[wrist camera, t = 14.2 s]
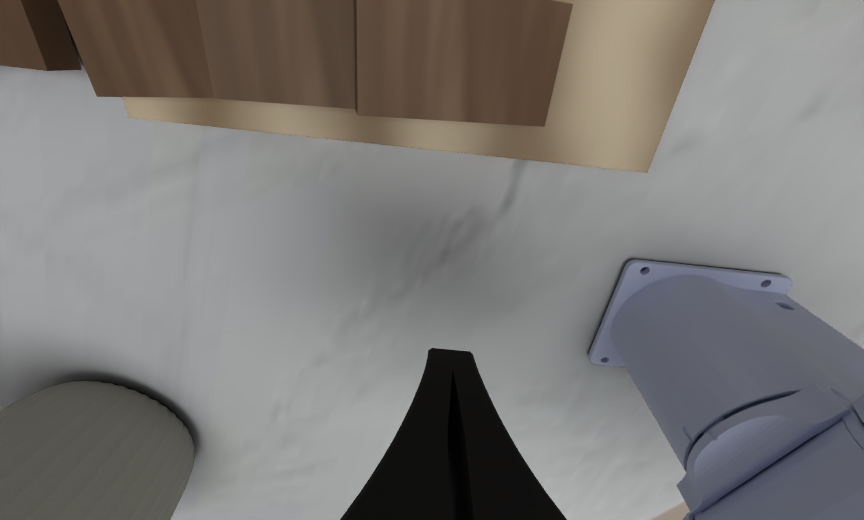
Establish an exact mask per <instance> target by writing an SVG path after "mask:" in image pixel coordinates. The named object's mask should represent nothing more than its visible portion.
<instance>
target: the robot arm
mask: <svg viewBox="0 0 864 520" xmlns="http://www.w3.org/2000/svg"><path fill="white" fill-rule="evenodd" d="M643 267H646V269H645V270H643V271H640V270H641V269H642V268H643ZM763 281H764V282H763ZM762 282H763V283H762ZM791 285H792V280H791V279H790V278H789V277H787V276H785V275H779V274H770V273H760V272H751V271H741V270H732V269H722V268H713V267H704V266H694V265H685V264H675V263H666V262H656V261H647V260H637V259H636V260H631V261H629V262H628V263H627V264H626V265H625V267H624V270H623V272H622V275H621V277H620V279H619V282H618V284H617V287H616V289H615V291H614V294H613V296H612V299H611V301H610V303H609V306H608V308H607V311H606V313H605V316H604V318H603V320H602V323H601V325H600V328H599V330H598V332H597V335H596V337H595V340H594V342H593V344H592V347H591V349H590V352H589V354H588V358H589V360H590V362H591V363H592V364H598V365H608V366H617V367H626V368H627V370H628V371H629V373H630V375H631V377H632V378H633V380H634V382H635V384H636V385H637V387H638V389H639V391H640V392H641V394H642V396H643V398H644V399H645V401H646V403H647V405H648V406H649V408H650V410H651V412H652V413H653V415H654V417H655V419H656V420H657V422H658V424H659V426H660V427H661V429H662V431H663V433H664V434H665V436H666V438H667V440H668V441H669V443H670V445H671V447H672V448H673V450H674V452H675V454H676V455H677V457H678V459H679V461H680V462H681V464H682V466H683V468H684V469H685V471H686V475H685V477H684V478H683V479H682V480H681V481H680V482H679V483H678V484H677V487H678V489H679V491H680V493H681V495H682V497H683V498H684V500H685V502H686V504H687V506H688V508H689V510H690V512H689V513H687V514H686V516H685V517H684V518H683V520H864V349H863V348H861V347H860V346H858V345H857V344H855V343H854V342H853V341H851V340H850V339H848V338H847V337H845V336H844V335H842V334H841V333H840V332H838V331H837V330H835V329H834V328H832V327H831V326H830V325H828V324H827V323H825V322H824V321H822V320H821V319H820V318H818V317H817V316H815V315H814V314H812V313H811V312H809V311H808V310H807V309H805V308H804V307H802V306H801V305H799V304H798V303H797V302H795V301H794V300H792V299H791V298H789V297H788V296H786V295H785V294H786V293H787V291H788V290H789V288H790V287H791ZM603 357H605V358H603ZM602 358H603V359H602ZM340 520H567V519H566V518H565V517H564V515H563V514H562V513H561V511H560V510H559V509H558V507H557V506H556V505H555V504H554V502H553V501H552V500H551V498H550V497H549V496H548V494H547V493H546V492H545V490H544V489H543V487H542V486H541V484H540V483H539V481H538V480H537V479H536V477H535V476H534V474H533V473H532V471H531V470H530V468H529V467H528V465H527V463H526V462H525V460H524V459H523V457H522V456H521V454H520V452H519V451H518V449H517V448H516V446H515V444H514V442H513V441H512V439H511V437H510V435H509V434H508V432H507V430H506V428H505V427H504V425H503V423H502V421H501V419H500V417H499V415H498V413H497V411H496V409H495V407H494V405H493V403H492V401H491V399H490V397H489V395H488V393H487V390H486V388H485V386H484V383H483V381H482V379H481V376H480V374H479V371H478V368H477V366H476V363H475V360H474V357H473V354H472V353H471V352H468V351H457V350H447V349H436V348H432V349H430V350H428V358H427V363H426V367H425V370H424V373H423V376H422V379H421V382H420V385H419V387H418V390H417V392H416V394H415V397H414V399H413V402H412V404H411V406H410V408H409V410H408V412H407V414H406V416H405V418H404V420H403V422H402V424H401V426H400V428H399V430H398V432H397V434H396V436H395V438H394V439H393V441H392V443H391V445H390V446H389V448H388V450H387V451H386V453H385V455H384V456H383V458H382V460H381V461H380V463H379V464H378V466H377V468H376V469H375V471H374V472H373V474H372V475H371V477H370V479H369V480H368V482H367V483H366V484H365V486H364V487H363V489H362V490H361V492H360V493H359V495H358V496H357V497H356V499H355V500H354V501H353V503H352V504H351V506H350V507H349V508H348V510H347V511H346V512H345V514H344V515H343V516H342V518H341V519H340Z"/></svg>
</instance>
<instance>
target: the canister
mask: <svg viewBox="0 0 864 520" xmlns="http://www.w3.org/2000/svg"><path fill="white" fill-rule="evenodd" d="M193 464H194V444H193V442H192V437H191V435H190V434H189V433H188V429H187V428H186V427H185V426H184V425H183V423H182V421H181V420H180V419H178V418H177V417H176V416H175V414H174V413H172V412H170V411H169V410H168V409H167V407H165V406H162V405H161V404H159V403H158V401H156V400H152V399H150V398H149V397H148V396H147V395H143V394H140V393H138V392H137V391H135V390H130V389H127V388H126V387H124V386H117V385H114V384H112V383H103V382H100V381H93V382H91V381H78V382H76V381H73V382H66V383H62V384H58V385H54V386H50V387H48V388H45V389H42V390H40V391H38V392H35V393H33V394H31V395H29V396H27V397H25V398H23V399H21V400H19V401H17V402H16V403H14V404H12V405H10V406H9V407H7V408H5V409H4V410H2V411H1V412H0V520H170V519H171V517H172V515H173V513H174V511H175V509H176V507H177V505H178V502H179V500H180V498H181V496H182V494H183V492H184V490H185V487H186V485H187V483H188V480H189V477H190V474H191V471H192V467H193Z"/></svg>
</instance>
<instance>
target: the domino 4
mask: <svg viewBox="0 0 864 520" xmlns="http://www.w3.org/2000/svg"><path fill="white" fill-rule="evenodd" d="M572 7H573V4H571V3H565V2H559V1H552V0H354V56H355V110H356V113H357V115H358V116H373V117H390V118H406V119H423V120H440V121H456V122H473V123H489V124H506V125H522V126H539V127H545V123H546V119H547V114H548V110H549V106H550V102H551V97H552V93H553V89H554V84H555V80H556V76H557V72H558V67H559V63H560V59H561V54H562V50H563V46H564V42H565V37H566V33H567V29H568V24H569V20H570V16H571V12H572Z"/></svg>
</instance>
